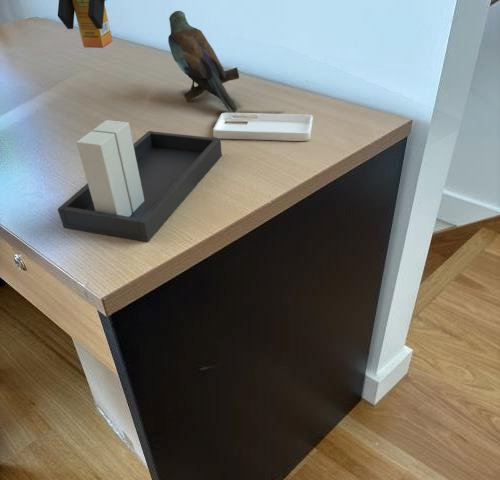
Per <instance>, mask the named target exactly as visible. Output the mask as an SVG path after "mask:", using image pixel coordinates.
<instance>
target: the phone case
mask: <svg viewBox="0 0 500 480" xmlns="http://www.w3.org/2000/svg"><path fill="white" fill-rule="evenodd" d="M243 117H244V118H243ZM245 117H246V118H245ZM247 117H257V118H247ZM313 122H314V116H313V115H311V114H299V113H298V114H297V113H262V112H261V113H260V112H259V113H258V112H257V113H256V112H255V113H254V112H235V113H231V112H222V113H221V114H220V115H219V117H218V119H217V121H216V123H215V124H214V127H213V128H212V132H213V138H218V139H224V140H225V139H227V140H259V141H260V140H261V141H285V142H286V141H289V142H291V141H292V142H308V141H310V139H311V133H312V129H313ZM233 123H235V124H233ZM236 123H237V124H236ZM239 123H246V124H239Z"/></svg>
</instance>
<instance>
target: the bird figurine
mask: <svg viewBox="0 0 500 480" xmlns="http://www.w3.org/2000/svg"><path fill="white" fill-rule="evenodd" d="M168 20H169V27H170V34H169V35H168V36H167V37H168V39H167V41H168V47H169V49H170V52H171V55H172V58H173V60H174V61H175V63H176V64H177V65H178V67H179V68H180V70H181V71H182V72H183V73H184V74H185V75H186V76H187V77H188V78H189V79H191V81H192V83H191V86H190V89H189V90H188V91H186V92H184V93H183V97H184V99H185V101H186V102H189V101H190V100H193V99H195V98H197V97H198V96H201V95H203V94H204V92H206V91H207V92H208V93H210V94H211V95H213V96H215V97H217V98H218V99H219V100H220V101H221V103H222V104H223V105H224V107H225V108H226V109H227V110H228V112H229V113H237V111H238V110H239V109H238V107H237V105H236V104H235V102H234V100H233V99H232V98H231V96H230V94H229V93H228V92H227V89H226V88H225V86H224V85H223V84H225V83H228V82H230V81H235V80H239V79H240V73H239V68H238V67H237V66H236V67H234V68H231V69H228V70H225V68H224V67H223V65H222V63H221V62H220V59H219V58H218V56H217V54H216V52H215V50H214V48H213V47H212V45H211V44H210V43H209V41H208V39H207V38H206V36H205V35H204V33H203V32H202V30H201V29H198V28H196V27H194V26H192V25H190V24H189V22H188V20H187V18H186V14H185V12H183V11H182V10H176V11H173V12H172V13H171V14H170V15H169V18H168ZM195 84H197V85H196V86H195Z"/></svg>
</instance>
